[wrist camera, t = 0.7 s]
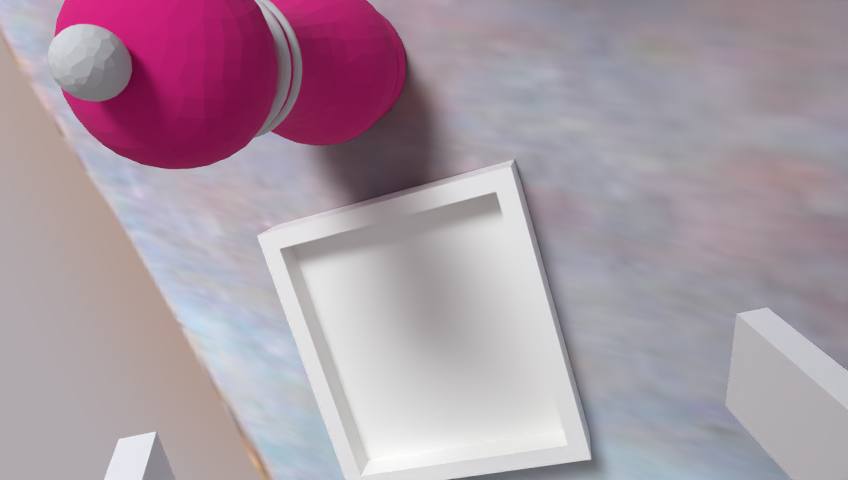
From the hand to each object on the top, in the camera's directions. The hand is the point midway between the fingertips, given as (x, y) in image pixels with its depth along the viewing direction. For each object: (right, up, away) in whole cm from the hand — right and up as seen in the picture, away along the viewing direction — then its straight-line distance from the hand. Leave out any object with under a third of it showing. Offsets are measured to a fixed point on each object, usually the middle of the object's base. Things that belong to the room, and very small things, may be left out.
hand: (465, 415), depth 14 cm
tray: (-1, -1, +22) cm, 22 cm away
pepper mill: (-5, +13, +19) cm, 24 cm away
